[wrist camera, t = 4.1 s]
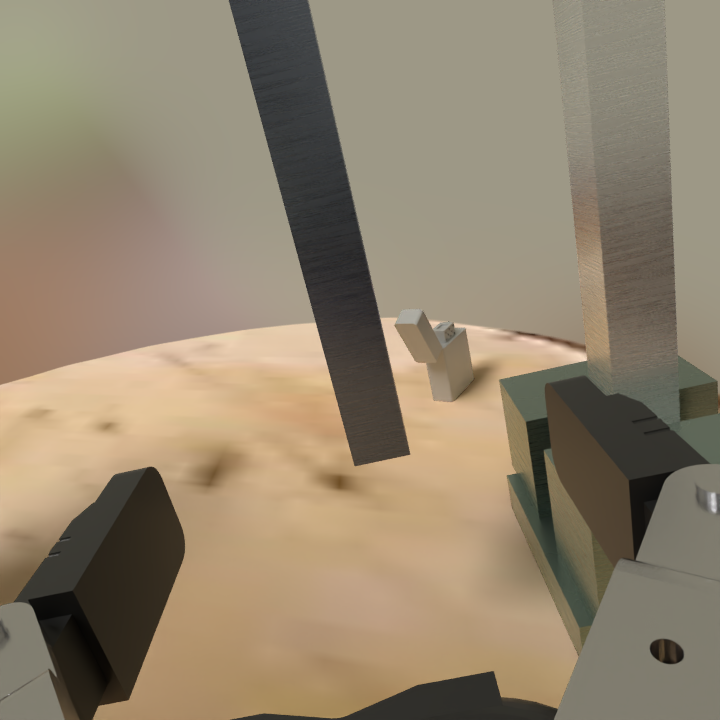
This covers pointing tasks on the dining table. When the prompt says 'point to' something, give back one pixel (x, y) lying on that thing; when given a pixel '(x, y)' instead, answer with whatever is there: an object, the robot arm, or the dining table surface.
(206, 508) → the dining table surface
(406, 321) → the lighter
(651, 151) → the grey tall bent post
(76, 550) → the robot arm
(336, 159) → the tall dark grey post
